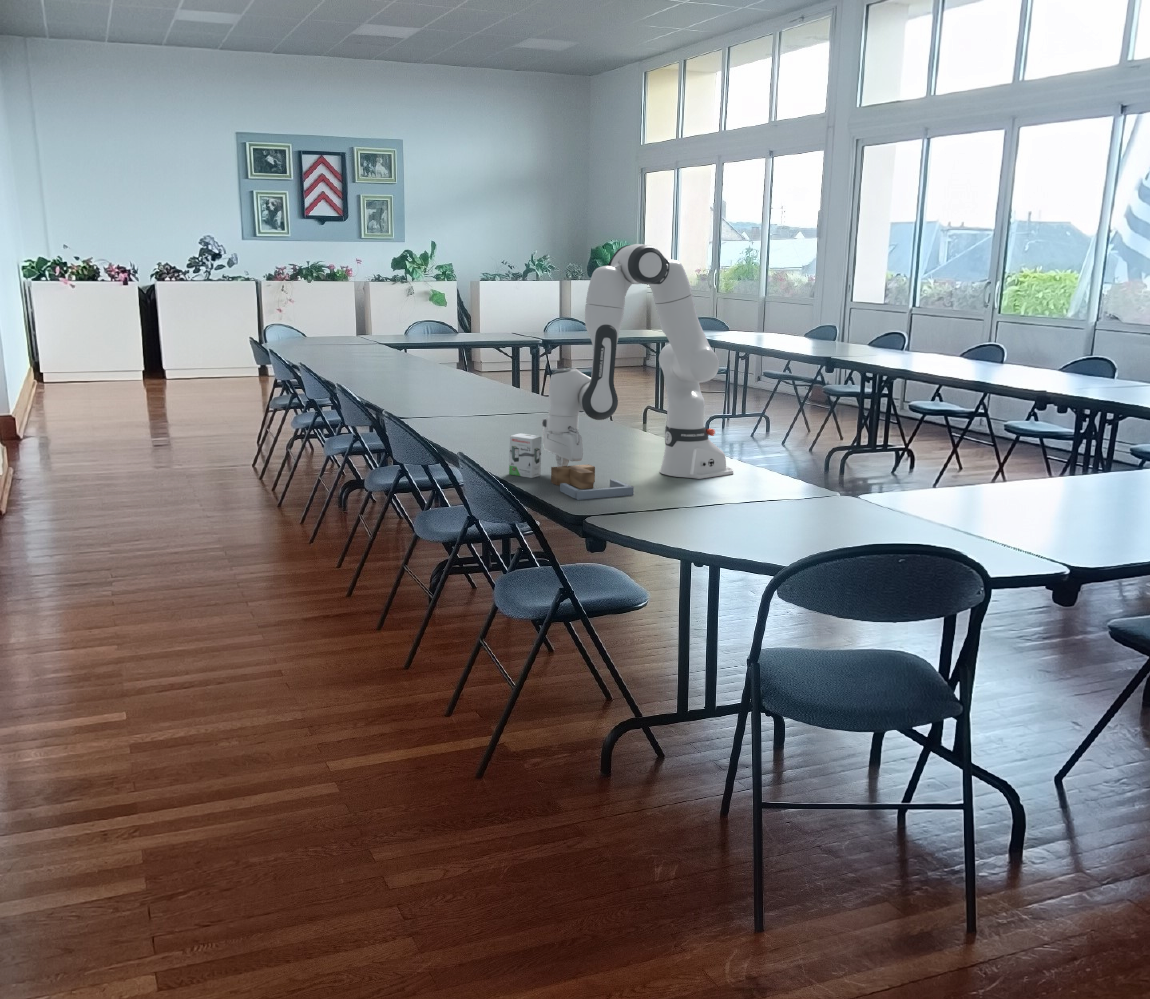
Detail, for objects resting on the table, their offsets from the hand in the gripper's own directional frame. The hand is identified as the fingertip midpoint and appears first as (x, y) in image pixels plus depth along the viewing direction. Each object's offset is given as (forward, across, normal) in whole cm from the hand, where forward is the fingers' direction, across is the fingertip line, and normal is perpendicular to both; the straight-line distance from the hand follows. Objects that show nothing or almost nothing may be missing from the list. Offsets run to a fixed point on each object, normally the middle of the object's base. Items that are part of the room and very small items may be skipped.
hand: (562, 471), depth 308 cm
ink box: (+2, +7, +9) cm, 12 cm away
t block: (+2, -10, 0) cm, 11 cm away
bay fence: (+2, -22, 0) cm, 22 cm away
